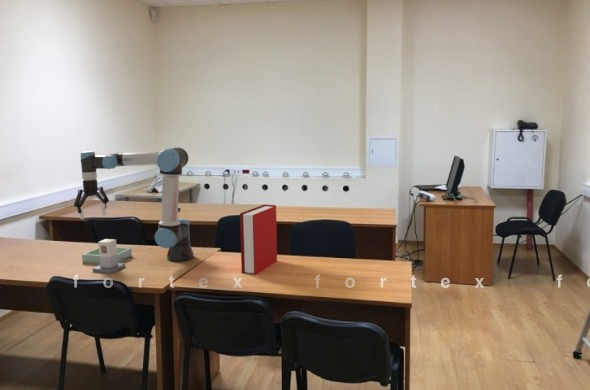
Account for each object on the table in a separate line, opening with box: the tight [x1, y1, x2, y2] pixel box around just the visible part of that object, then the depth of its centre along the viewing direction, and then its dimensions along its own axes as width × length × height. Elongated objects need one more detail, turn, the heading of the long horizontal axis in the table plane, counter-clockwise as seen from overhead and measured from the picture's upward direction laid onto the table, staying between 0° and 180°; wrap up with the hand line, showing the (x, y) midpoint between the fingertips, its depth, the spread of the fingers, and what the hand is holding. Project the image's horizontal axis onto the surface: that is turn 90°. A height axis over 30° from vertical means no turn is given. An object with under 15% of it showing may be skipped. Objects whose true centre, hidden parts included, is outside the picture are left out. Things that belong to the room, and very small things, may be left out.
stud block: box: [92, 262, 126, 274], centre depth 270 cm, size 12×12×7 cm
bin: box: [81, 246, 133, 265], centre depth 288 cm, size 20×18×5 cm
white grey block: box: [97, 238, 118, 268], centre depth 268 cm, size 6×7×14 cm
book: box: [239, 204, 278, 276], centre depth 269 cm, size 27×8×32 cm, turn 156°
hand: (93, 216), depth 281 cm, fingers open, 13 cm apart
